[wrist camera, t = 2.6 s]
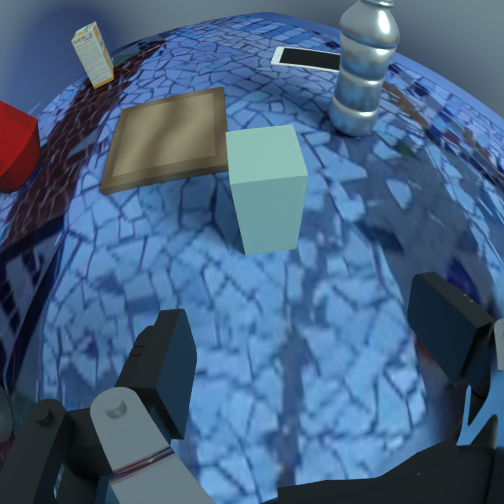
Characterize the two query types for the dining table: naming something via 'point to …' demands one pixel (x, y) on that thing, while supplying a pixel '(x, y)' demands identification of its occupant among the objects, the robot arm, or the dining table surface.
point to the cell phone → (306, 59)
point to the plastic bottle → (362, 65)
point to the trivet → (168, 141)
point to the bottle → (17, 147)
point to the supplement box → (93, 55)
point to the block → (267, 186)
